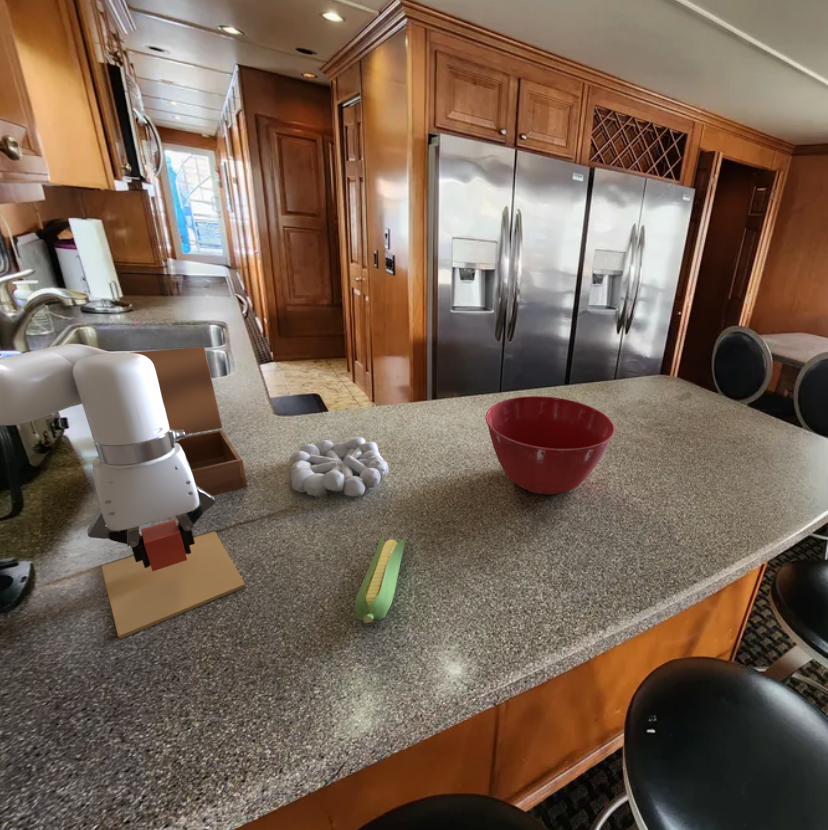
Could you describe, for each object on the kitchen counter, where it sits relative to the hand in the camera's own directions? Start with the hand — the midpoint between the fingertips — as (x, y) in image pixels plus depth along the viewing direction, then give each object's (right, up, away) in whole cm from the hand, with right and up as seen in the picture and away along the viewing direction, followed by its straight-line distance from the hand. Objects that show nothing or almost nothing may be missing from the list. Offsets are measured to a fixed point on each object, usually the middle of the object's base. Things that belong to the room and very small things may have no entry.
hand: (166, 554), depth 68 cm
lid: (-20, +25, +23) cm, 39 cm away
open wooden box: (-15, +7, +23) cm, 28 cm away
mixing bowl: (+55, +6, +38) cm, 67 cm away
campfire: (+11, +7, +30) cm, 33 cm away
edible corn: (+31, -6, +4) cm, 32 cm away
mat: (0, -3, +1) cm, 3 cm away
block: (0, -1, 0) cm, 1 cm away
